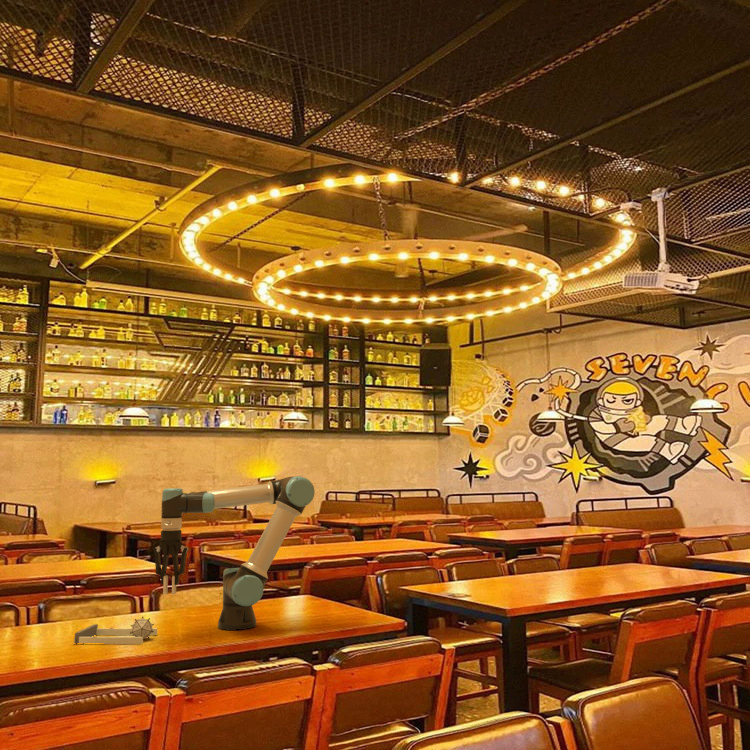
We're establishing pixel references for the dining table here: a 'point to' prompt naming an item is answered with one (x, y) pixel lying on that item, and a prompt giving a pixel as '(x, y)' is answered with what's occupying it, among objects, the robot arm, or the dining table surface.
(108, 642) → the tan piece
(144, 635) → the game die
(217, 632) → the dining table surface
